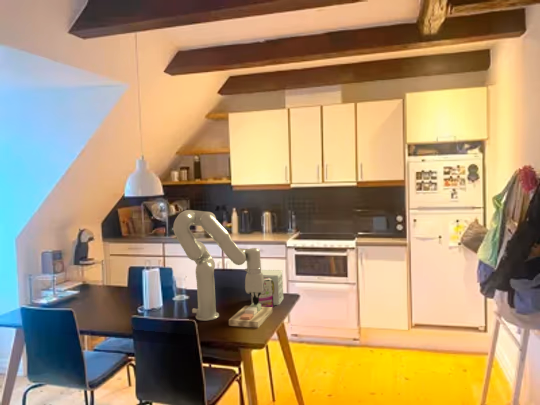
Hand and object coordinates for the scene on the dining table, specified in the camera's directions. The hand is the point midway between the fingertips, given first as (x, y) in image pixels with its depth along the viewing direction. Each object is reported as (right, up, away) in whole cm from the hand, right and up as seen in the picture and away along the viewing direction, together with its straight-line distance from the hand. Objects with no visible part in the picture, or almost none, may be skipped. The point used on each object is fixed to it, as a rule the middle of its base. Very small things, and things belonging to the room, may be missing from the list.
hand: (256, 303), depth 244 cm
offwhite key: (-2, -4, -6) cm, 8 cm away
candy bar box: (+4, -5, +13) cm, 14 cm away
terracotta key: (-4, -6, -13) cm, 15 cm away
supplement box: (+6, -4, +24) cm, 25 cm away
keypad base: (-2, -7, -6) cm, 9 cm away
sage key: (0, -4, 0) cm, 4 cm away
